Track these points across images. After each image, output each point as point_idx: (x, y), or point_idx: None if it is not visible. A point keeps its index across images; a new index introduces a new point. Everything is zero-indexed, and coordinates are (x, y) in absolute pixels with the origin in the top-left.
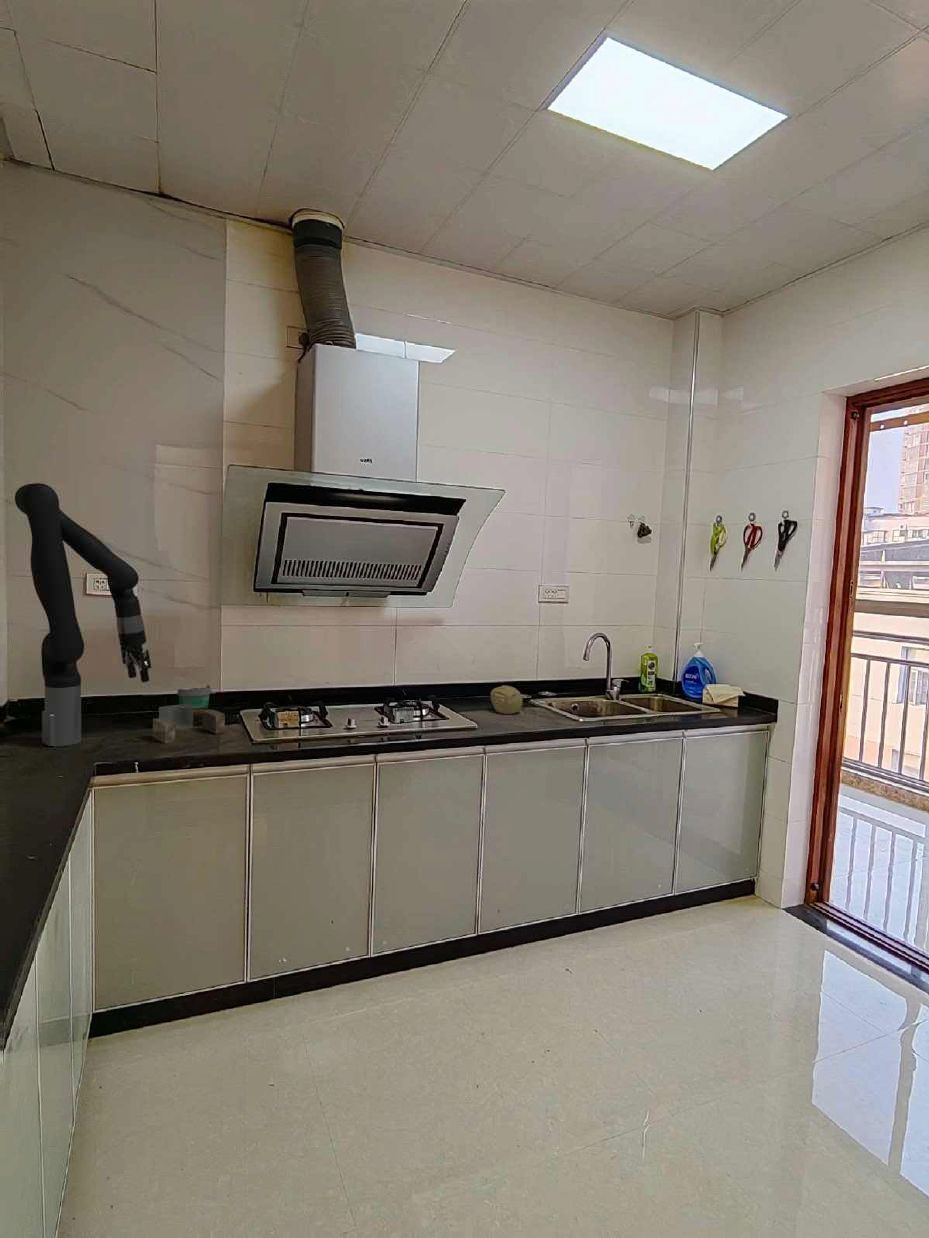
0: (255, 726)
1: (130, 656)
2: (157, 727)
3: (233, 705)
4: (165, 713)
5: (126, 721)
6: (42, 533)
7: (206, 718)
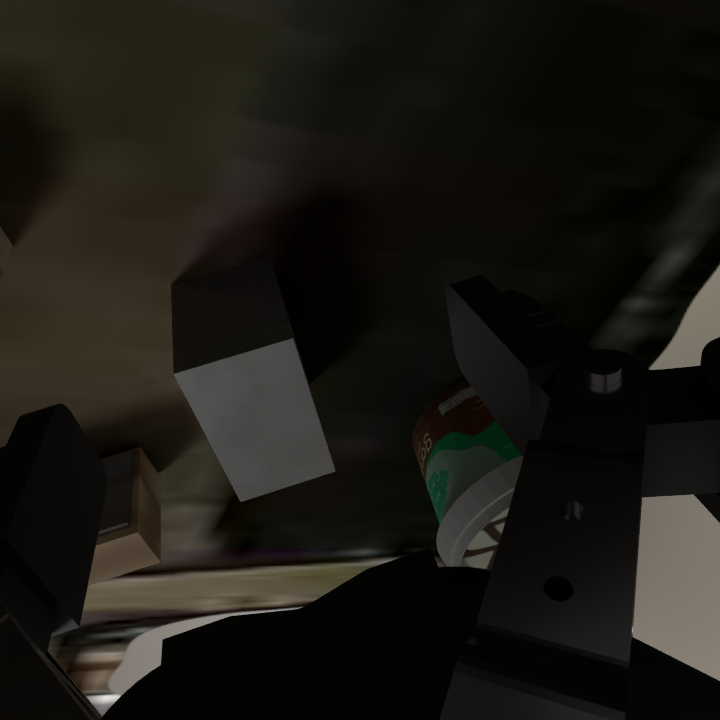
0: (138, 598)
1: (424, 699)
2: None
3: None
4: (189, 350)
5: (541, 99)
6: None
7: None
